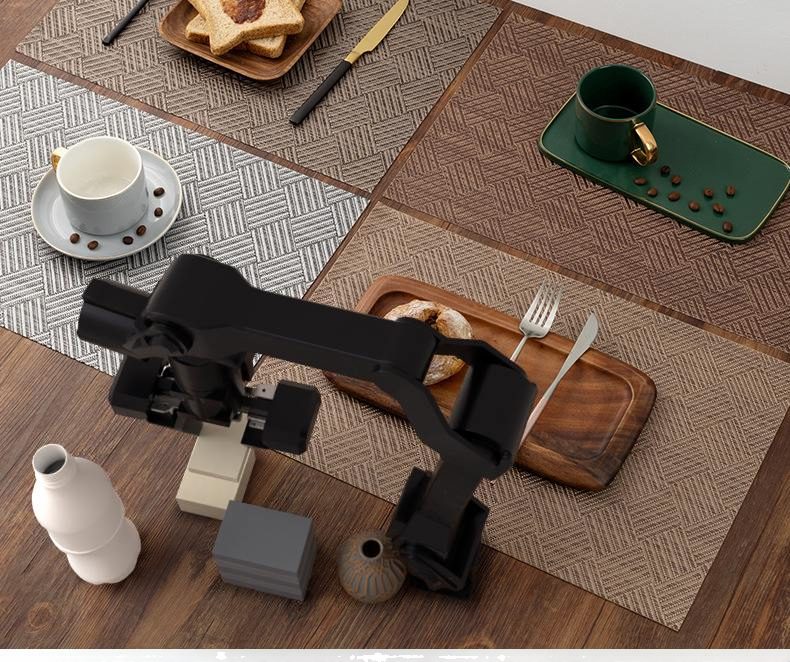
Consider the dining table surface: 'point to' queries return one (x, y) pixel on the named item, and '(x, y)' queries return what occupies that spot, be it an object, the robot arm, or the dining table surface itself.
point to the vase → (370, 567)
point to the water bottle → (84, 515)
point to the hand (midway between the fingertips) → (226, 437)
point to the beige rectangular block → (212, 491)
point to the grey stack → (266, 550)
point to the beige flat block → (220, 451)
